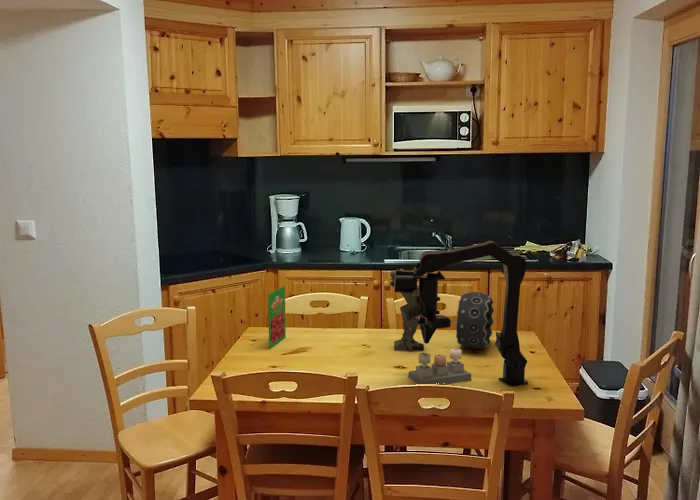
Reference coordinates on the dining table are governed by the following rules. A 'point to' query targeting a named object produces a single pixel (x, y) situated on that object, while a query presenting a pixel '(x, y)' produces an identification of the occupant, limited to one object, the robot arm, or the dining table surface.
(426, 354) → the sage key
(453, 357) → the cream key
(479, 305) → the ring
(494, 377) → the dining table surface
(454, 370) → the grey button panel
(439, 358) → the terracotta key
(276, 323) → the tomato puree packet
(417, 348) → the mechanical leg
